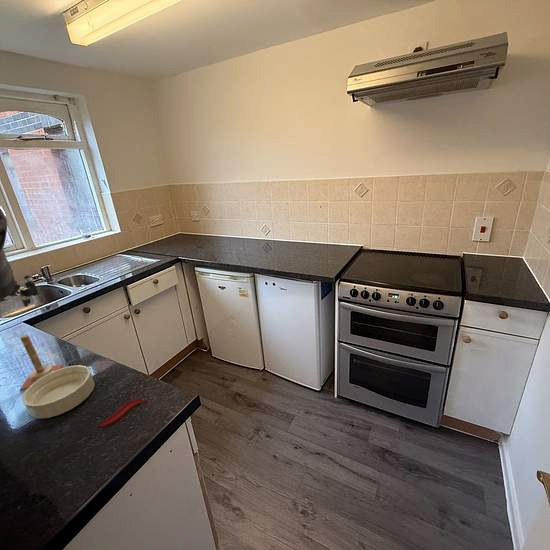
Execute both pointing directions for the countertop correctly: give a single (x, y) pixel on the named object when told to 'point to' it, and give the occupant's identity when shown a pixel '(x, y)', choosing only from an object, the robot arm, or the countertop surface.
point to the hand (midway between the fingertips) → (3, 310)
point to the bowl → (58, 391)
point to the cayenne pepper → (121, 412)
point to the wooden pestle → (35, 360)
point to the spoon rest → (29, 382)
